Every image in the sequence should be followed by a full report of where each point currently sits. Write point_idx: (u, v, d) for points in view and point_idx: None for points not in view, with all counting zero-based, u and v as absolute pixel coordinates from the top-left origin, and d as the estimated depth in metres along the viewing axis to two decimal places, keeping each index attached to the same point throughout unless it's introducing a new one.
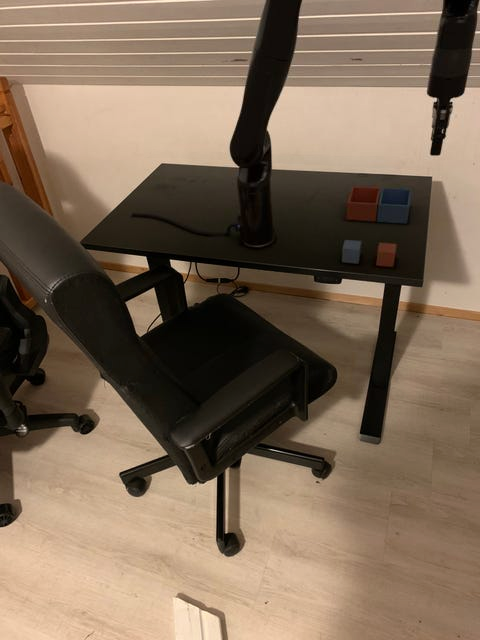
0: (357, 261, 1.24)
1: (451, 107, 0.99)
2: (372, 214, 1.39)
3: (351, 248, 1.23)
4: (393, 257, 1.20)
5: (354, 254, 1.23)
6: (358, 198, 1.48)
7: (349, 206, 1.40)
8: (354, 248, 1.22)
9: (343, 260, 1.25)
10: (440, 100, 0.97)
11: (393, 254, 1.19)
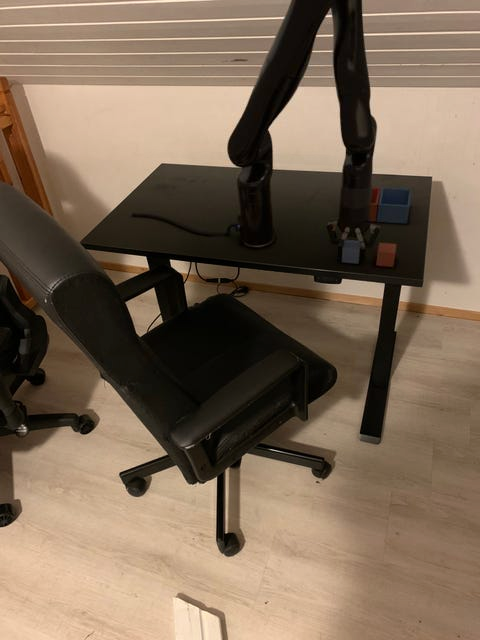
0: (357, 261, 1.24)
1: None
2: (372, 214, 1.39)
3: (351, 248, 1.23)
4: (393, 257, 1.20)
5: (354, 254, 1.23)
6: None
7: None
8: (354, 248, 1.22)
9: (343, 260, 1.25)
10: (368, 220, 1.17)
11: (393, 254, 1.19)
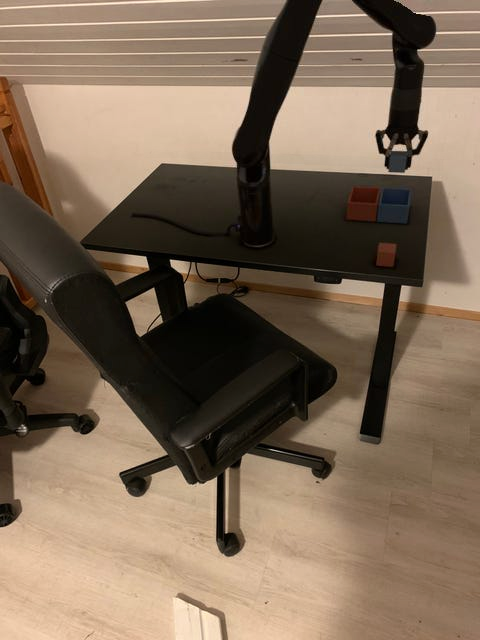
0: (404, 170, 1.29)
1: None
2: (372, 214, 1.39)
3: (398, 156, 1.27)
4: (393, 257, 1.20)
5: (401, 162, 1.27)
6: (358, 198, 1.48)
7: (349, 206, 1.40)
8: (401, 156, 1.27)
9: (389, 169, 1.30)
10: (416, 125, 1.21)
11: (393, 254, 1.19)
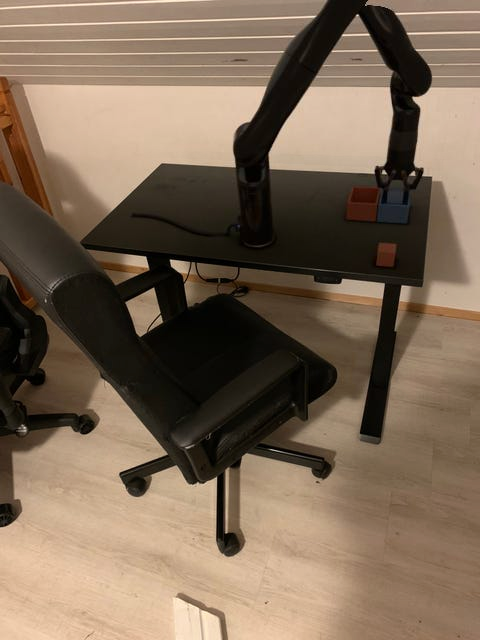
0: (401, 204, 1.38)
1: None
2: (372, 214, 1.39)
3: (395, 192, 1.36)
4: (393, 257, 1.20)
5: (398, 197, 1.36)
6: (358, 198, 1.48)
7: (349, 206, 1.40)
8: (398, 192, 1.36)
9: None
10: (413, 163, 1.30)
11: (393, 254, 1.19)
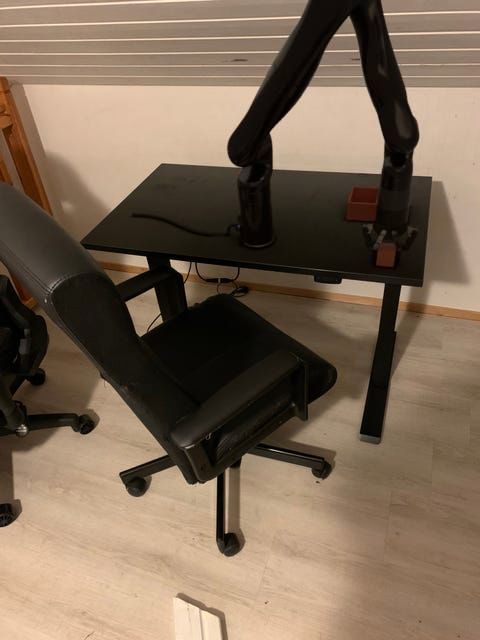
0: None
1: None
2: (372, 214, 1.39)
3: None
4: (393, 257, 1.20)
5: None
6: (358, 198, 1.48)
7: (349, 206, 1.40)
8: None
9: None
10: (405, 222, 1.14)
11: (393, 254, 1.19)
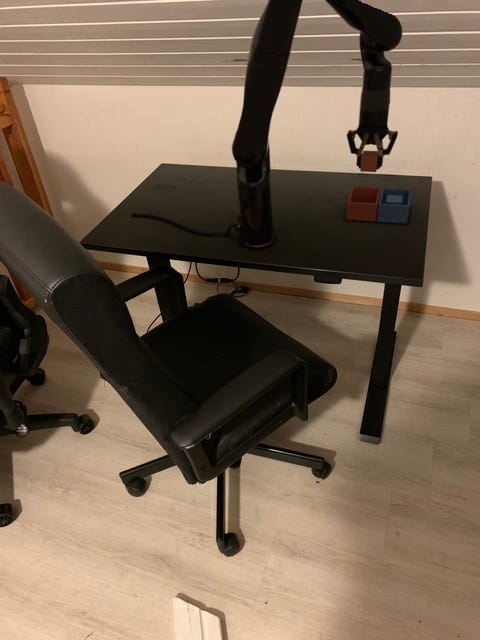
0: None
1: None
2: (372, 214, 1.39)
3: (394, 201, 1.38)
4: (375, 162, 1.30)
5: None
6: (358, 198, 1.48)
7: (349, 206, 1.40)
8: (397, 201, 1.38)
9: None
10: (386, 125, 1.24)
11: (375, 159, 1.29)
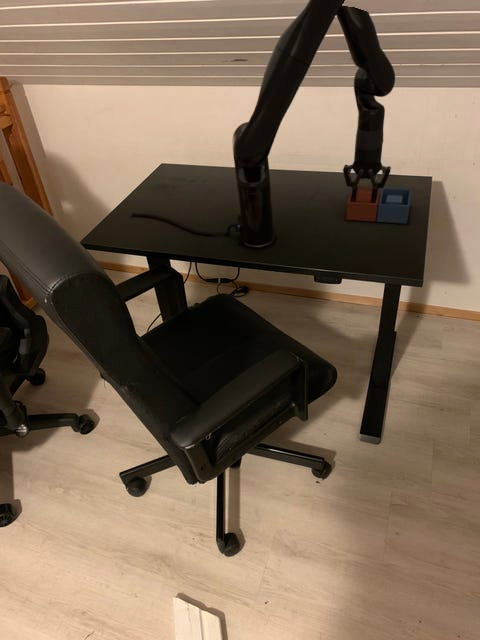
0: None
1: None
2: (372, 214, 1.39)
3: (394, 201, 1.38)
4: (370, 197, 1.39)
5: None
6: None
7: (349, 206, 1.40)
8: (397, 201, 1.38)
9: None
10: (379, 162, 1.33)
11: (370, 194, 1.39)
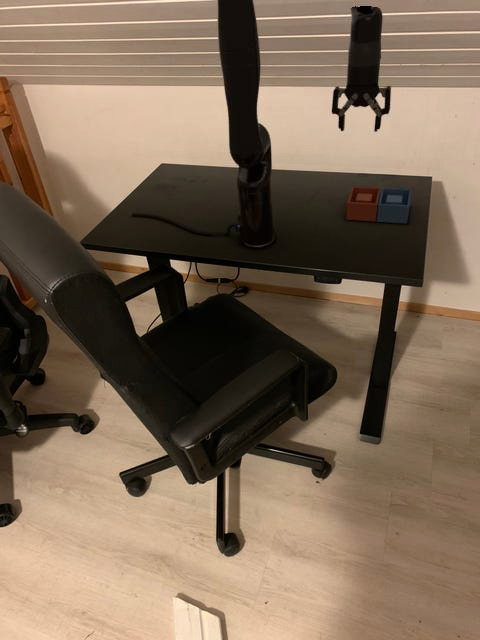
0: None
1: None
2: (372, 214, 1.39)
3: (394, 201, 1.38)
4: None
5: None
6: None
7: (349, 206, 1.40)
8: (397, 201, 1.38)
9: None
10: (377, 84, 1.12)
11: (369, 202, 1.40)
